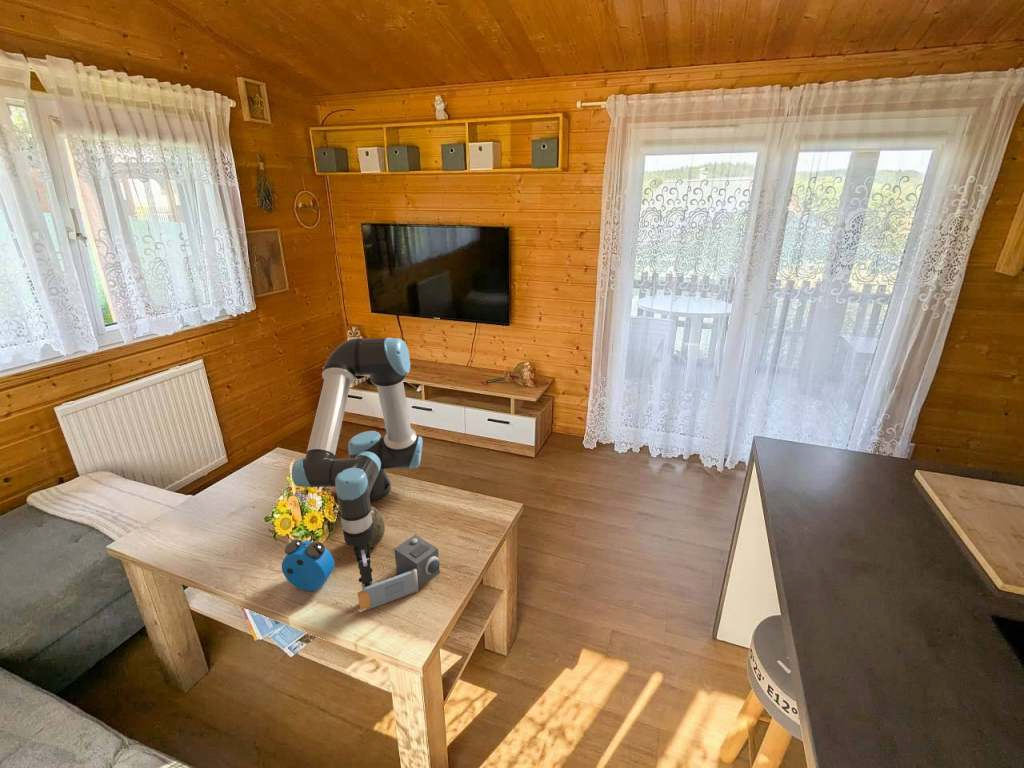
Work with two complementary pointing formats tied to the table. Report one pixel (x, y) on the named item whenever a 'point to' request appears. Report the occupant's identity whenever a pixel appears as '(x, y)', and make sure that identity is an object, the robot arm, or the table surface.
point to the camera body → (418, 559)
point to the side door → (388, 590)
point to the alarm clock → (307, 564)
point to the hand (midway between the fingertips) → (368, 594)
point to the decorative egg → (377, 527)
